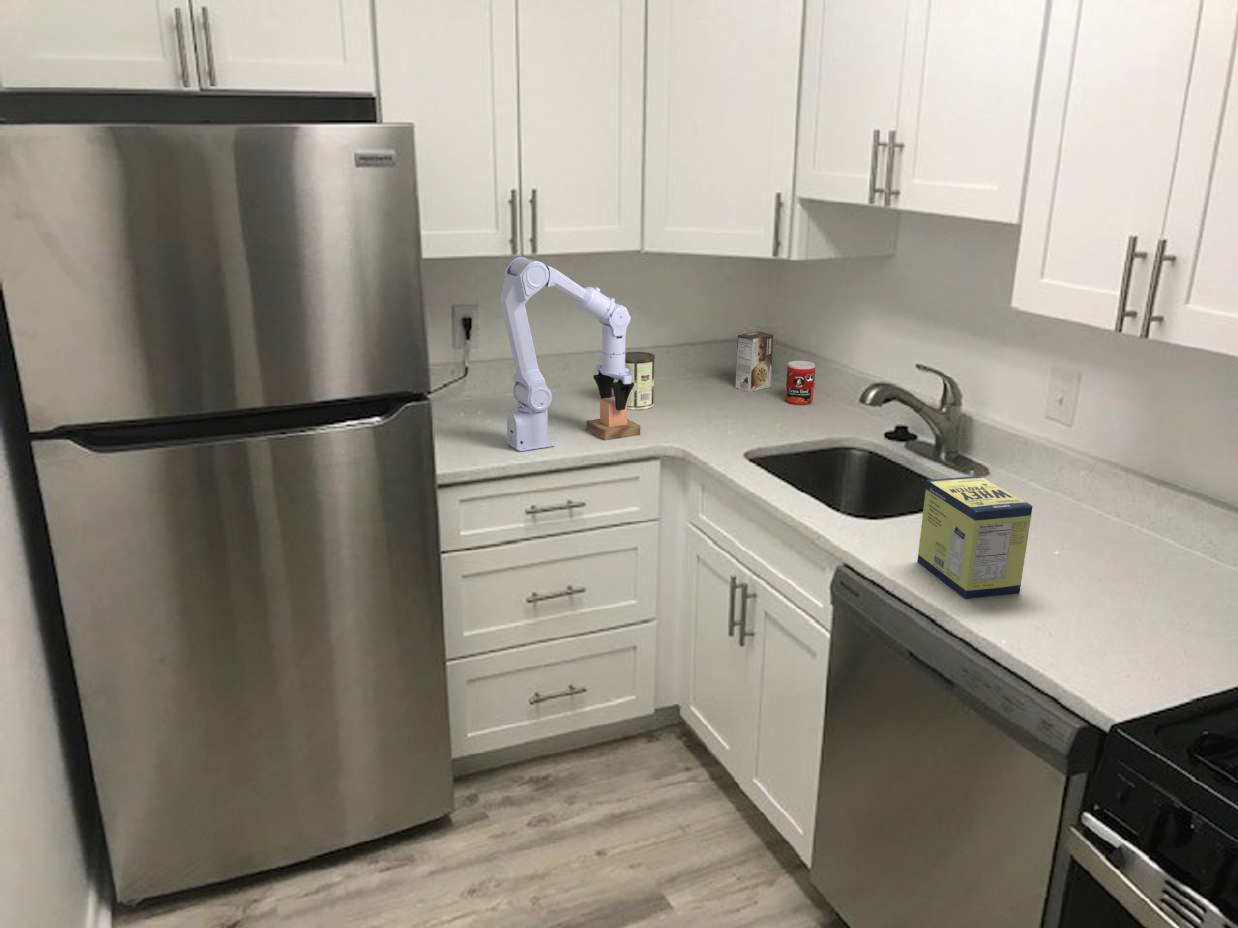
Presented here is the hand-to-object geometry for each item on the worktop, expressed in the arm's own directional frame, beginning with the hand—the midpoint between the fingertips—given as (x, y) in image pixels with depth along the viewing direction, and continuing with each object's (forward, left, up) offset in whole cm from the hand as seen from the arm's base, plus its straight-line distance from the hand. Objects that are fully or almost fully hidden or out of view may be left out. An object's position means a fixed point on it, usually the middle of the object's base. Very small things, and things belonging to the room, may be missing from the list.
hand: (613, 406), depth 242 cm
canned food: (+61, +2, -7) cm, 62 cm away
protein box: (+13, -102, -7) cm, 103 cm away
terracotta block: (0, 0, -4) cm, 4 cm away
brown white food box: (+59, +21, -7) cm, 63 cm away
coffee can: (+18, +20, -7) cm, 28 cm away
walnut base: (0, 0, -7) cm, 7 cm away
